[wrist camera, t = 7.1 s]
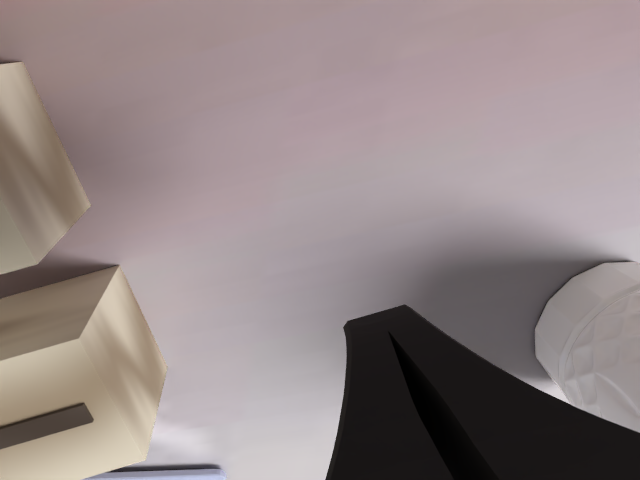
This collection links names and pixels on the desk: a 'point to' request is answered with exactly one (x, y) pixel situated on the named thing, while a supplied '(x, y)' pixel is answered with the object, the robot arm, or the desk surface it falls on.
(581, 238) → the desk surface
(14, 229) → the plain birch block
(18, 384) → the birch block marked 1
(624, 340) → the white cup
